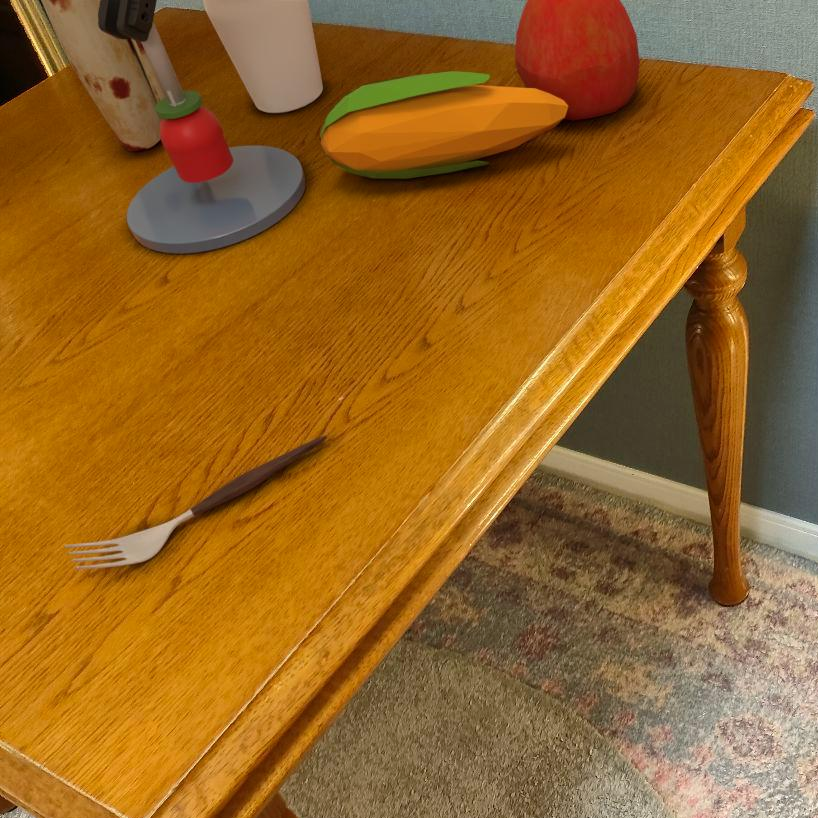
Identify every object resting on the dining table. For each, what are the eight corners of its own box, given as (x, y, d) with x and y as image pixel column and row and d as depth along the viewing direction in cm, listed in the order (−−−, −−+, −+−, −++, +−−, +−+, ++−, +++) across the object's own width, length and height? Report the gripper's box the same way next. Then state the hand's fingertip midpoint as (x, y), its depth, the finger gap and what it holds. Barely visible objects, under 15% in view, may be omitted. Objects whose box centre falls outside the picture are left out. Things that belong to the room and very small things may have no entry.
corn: (312, 69, 80) (560, 29, 78) (341, 154, 86) (572, 120, 84) (299, 119, 75) (562, 79, 73) (331, 206, 81) (575, 172, 79)
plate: (109, 264, 80) (103, 254, 79) (157, 168, 90) (152, 158, 89) (289, 240, 78) (285, 229, 77) (318, 145, 88) (315, 134, 87)
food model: (120, 122, 97) (8, -111, 83) (187, 106, 98) (87, -130, 83) (109, 169, 91) (-14, -74, 76) (181, 153, 91) (72, -94, 76)
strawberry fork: (171, 187, 80) (74, -20, 69) (185, 157, 84) (94, -46, 72) (228, 178, 80) (139, -31, 68) (240, 148, 83) (157, -57, 71)
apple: (500, 114, 87) (477, -15, 79) (585, 65, 90) (571, -62, 82) (582, 146, 81) (565, 11, 73) (669, 93, 84) (662, -42, 77)
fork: (338, 453, 61) (328, 429, 59) (93, 592, 56) (76, 570, 55) (319, 432, 62) (309, 408, 61) (80, 565, 58) (63, 543, 56)
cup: (245, 129, 92) (192, -8, 83) (242, 89, 98) (192, -44, 89) (340, 105, 93) (297, -35, 84) (331, 66, 99) (290, -68, 90)
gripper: (276, -194, 70) (228, 64, 72) (142, -191, 75) (103, 48, 78) (193, -267, 63) (144, 21, 66) (53, -257, 69) (14, 7, 72)
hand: (122, 35), depth 72 cm, fingers closed on strawberry fork, 1 cm apart
